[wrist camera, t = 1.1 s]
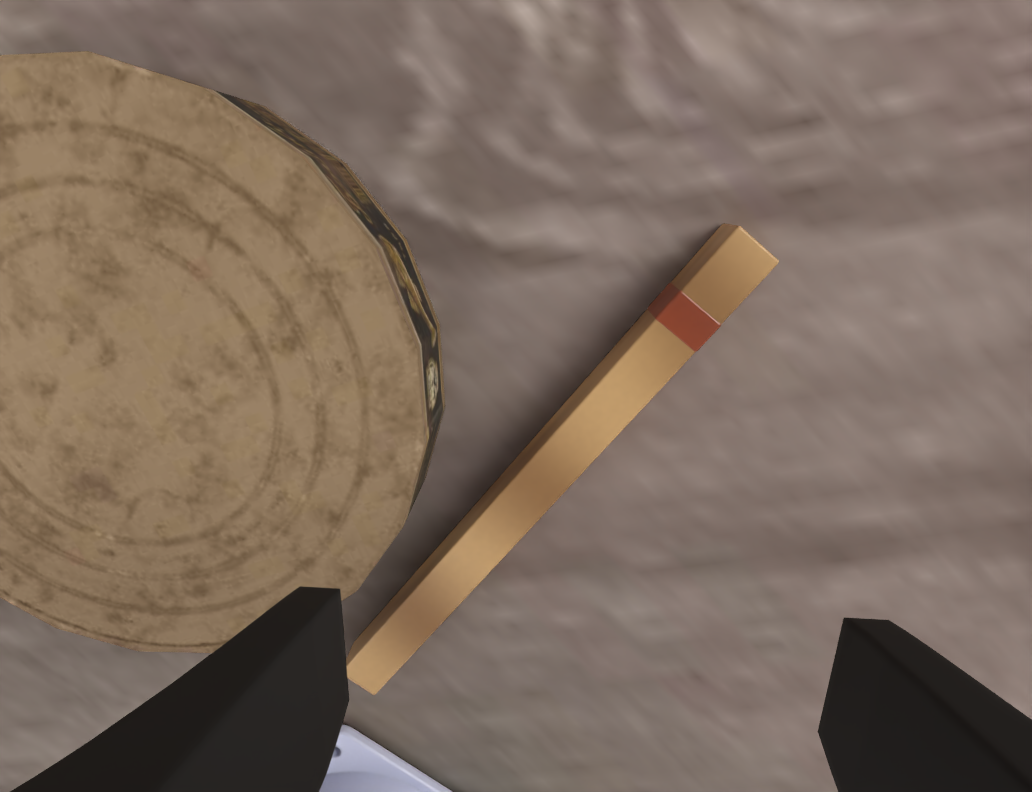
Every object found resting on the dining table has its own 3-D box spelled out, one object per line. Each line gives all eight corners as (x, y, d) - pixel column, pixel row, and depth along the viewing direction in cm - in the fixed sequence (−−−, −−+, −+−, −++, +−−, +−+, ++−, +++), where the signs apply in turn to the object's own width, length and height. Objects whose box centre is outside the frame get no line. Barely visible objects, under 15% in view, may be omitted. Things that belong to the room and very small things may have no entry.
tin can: (-31, -42, 15) (-166, -96, 12) (537, 242, 17) (534, 251, 14) (-105, 472, 20) (-213, 517, 17) (339, 660, 21) (306, 730, 19)
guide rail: (386, 663, 21) (374, 697, 20) (353, 641, 21) (338, 674, 20) (761, 256, 16) (781, 262, 15) (721, 221, 16) (739, 224, 15)
